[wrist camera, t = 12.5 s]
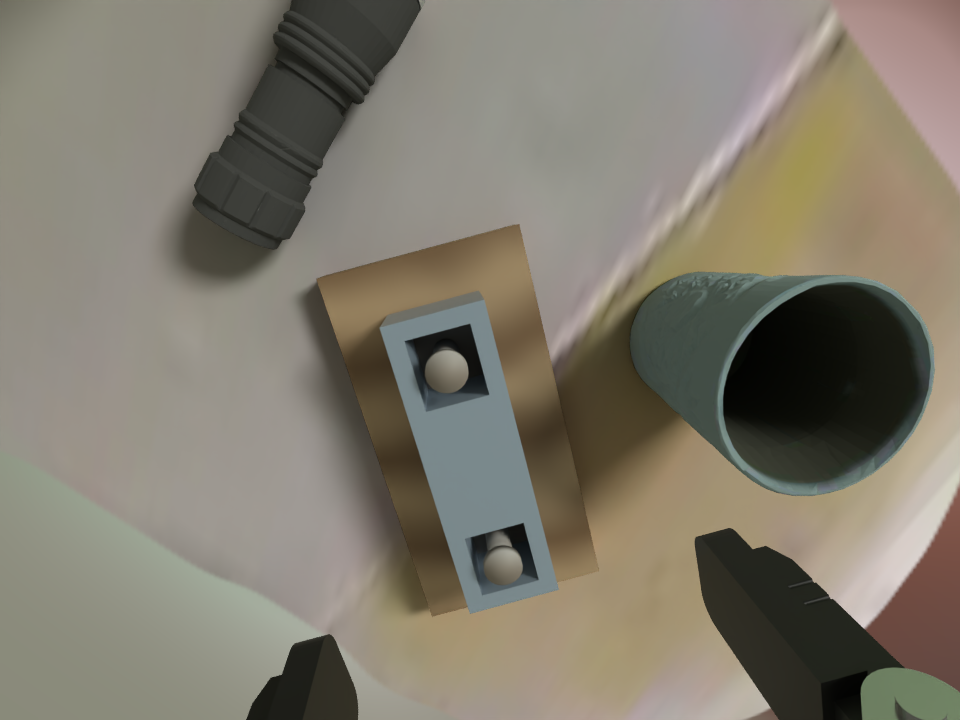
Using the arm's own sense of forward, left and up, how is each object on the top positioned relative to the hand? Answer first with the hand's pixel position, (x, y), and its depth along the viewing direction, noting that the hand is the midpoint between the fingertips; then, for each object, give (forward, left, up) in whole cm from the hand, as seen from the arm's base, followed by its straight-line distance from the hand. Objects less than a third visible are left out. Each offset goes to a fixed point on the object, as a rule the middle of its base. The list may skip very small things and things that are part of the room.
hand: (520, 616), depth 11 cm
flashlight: (-16, -4, -23) cm, 29 cm away
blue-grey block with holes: (+5, -1, -21) cm, 21 cm away
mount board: (+5, -1, -23) cm, 23 cm away
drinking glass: (+3, +15, -23) cm, 27 cm away
